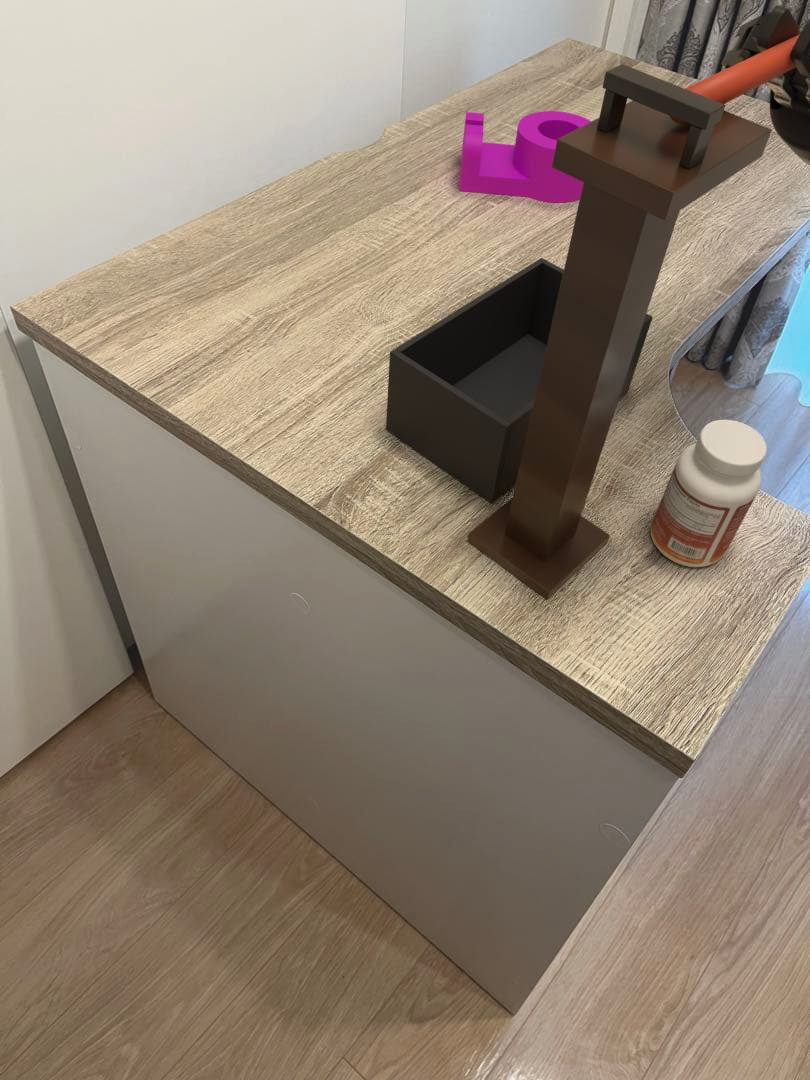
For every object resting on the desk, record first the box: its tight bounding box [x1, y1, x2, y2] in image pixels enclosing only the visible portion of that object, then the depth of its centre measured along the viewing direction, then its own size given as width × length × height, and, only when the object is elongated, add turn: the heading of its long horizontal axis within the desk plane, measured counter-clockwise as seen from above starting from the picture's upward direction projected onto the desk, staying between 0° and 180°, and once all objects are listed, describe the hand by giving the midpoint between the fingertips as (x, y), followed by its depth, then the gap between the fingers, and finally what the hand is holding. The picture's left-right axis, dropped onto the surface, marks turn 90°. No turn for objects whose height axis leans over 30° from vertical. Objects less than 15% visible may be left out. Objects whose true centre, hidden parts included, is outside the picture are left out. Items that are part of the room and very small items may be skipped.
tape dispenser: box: [458, 110, 593, 204], centre depth 103 cm, size 16×10×6 cm, turn 86°
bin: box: [385, 257, 654, 504], centre depth 75 cm, size 20×12×9 cm, turn 137°
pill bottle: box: [650, 419, 768, 568], centre depth 65 cm, size 6×6×11 cm
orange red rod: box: [670, 34, 800, 124], centre depth 49 cm, size 17×2×2 cm, turn 137°
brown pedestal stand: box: [467, 63, 773, 600], centre depth 56 cm, size 11×8×35 cm
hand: (788, 31), depth 49 cm, fingers closed on orange red rod, 1 cm apart
